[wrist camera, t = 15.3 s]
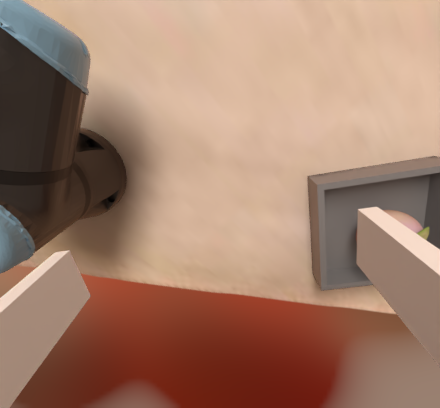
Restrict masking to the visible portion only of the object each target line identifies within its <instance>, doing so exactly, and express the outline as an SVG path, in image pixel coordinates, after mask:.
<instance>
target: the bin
mask: <svg viewBox="0 0 440 408" xmlns="http://www.w3.org/2000/svg"><path fill="white" fill-rule="evenodd" d="M308 192H309V211H310V230H311V249H312V268H313V275H314V277H315V279H316V281H317V283H318V285H319V287H320V289H321V291H322V290H331V289H340V288H349V287H358V286H367V285H373V284H372V282H371V281H370V280H369V279H368V277H367V276H366V275H365V274H364V273H363V271H362V270H361V269H360V268H359V266H358V265H357V264H356V261H357V242H356V231H357V222H358V209H363V208H370V207H378V208H380V209H381V210H395V211H400V212H403V213H406V214H408V215H410V216H412V217H413V218H414V219H416V220H417V221H418V222H419V223H420V225H421V226H422V228H423V229H424V228H426V227H429V235H428V238H427V240H426V241H428V242H429V243H431V244H432V245H434V246H435V247H437V248H438V249H440V157H436V156H432V157H426V158H419V159H413V160H407V161H400V162H394V163H388V164H381V165H375V166H369V167H362V168H356V169H349V170H343V171H337V172H330V173H324V174H318V175H311V176H308Z"/></svg>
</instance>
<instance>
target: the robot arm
mask: <svg viewBox="0 0 440 408" xmlns="http://www.w3.org/2000/svg"><path fill="white" fill-rule="evenodd" d="M89 69H90V54H89V51H88V49H87V47H86V45H85V44H84V42H83V41H82V40H81V39H80V38H79V37H78V36H77V35H75V34H74V33H73V32H71V31H70V30H68V29H67V28H65V27H64V26H62V25H61V24H59V23H58V22H56V21H55V20H53V19H52V18H50V17H48V16H47V15H45V14H44V13H42V12H40V11H39V10H37V9H36V8H34V7H32V6H31V5H29V4H27V3H26V2H24V1H22V0H0V273H3V272H5V271H7V270H9V269H11V268H12V267H14V266H16V265H17V264H19V263H21V262H22V261H25V260H27V259H29V258H30V257H31V256H32V255H33V253H35V252H36V251H37V250H38V249H40V248H41V247H42V246H44V245H45V244H46V243H48V242H49V241H50V240H52V239H53V238H54V237H56V236H57V235H58V234H60V233H61V232H62V231H64V230H65V229H66V228H68V227H69V226H70V225H72V224H73V223H74V222H76V221H77V220H79V219H84V218H89V217H94V216H98V215H100V214H103V213H105V212H106V211H108V210H109V209H111V208H112V207H113V206H114V205H115V204H116V203H117V202H118V201H119V200H120V199H121V197H122V195H123V193H124V191H125V187H126V171H125V167H124V164H123V161H122V159H121V157H120V155H119V154H118V152H117V151H116V149H115V148H114V147H113V146H112V145H111V144H110V143H109V142H108V141H107V140H106V139H104V138H103V137H102V136H100V135H98V134H97V133H95V132H92V131H90V130H87V129H83V128H80V125H81V120H82V115H83V110H84V105H85V100H86V95H88V93H89V91H88V89H87V84H88V76H89ZM356 264H357V265H358V266H359V268H360V269H361V270H362V271H363V273H364V274H365V275H366V276H367V277H368V279H369V280H370V281H371V282H372V284H373V285H374V286H375V287H376V289H377V290H378V291H379V292H380V294H381V295H382V296H383V297H384V299H385V300H386V301H387V302H388V304H389V305H390V306H391V307H392V309H393V310H394V311H395V312H396V314H397V315H398V316H399V317H400V319H401V320H402V321H403V322H404V323H405V325H406V326H407V327H408V328H409V330H410V331H411V332H412V333H413V335H414V336H415V337H416V338H417V340H418V341H419V342H420V343H421V344H422V346H423V347H424V348H425V350H426V351H427V352H428V353H429V355H430V356H431V357H432V358H433V360H434V361H435V362H436V363H437V365H438V366H439V367H440V249H438V248H437V247H435V246H434V245H432V244H431V243H429V242H428V241H426V240H425V239H424V238H422V237H421V236H419V235H418V234H416V233H415V232H413V231H412V230H410V229H409V228H407V227H406V226H405V225H403V224H402V223H400V222H399V221H397V220H396V219H394V218H393V217H391V216H390V215H388V214H387V213H386V212H384V211H383V210H381V209H380V208H378V207H370V208H363V209H358V222H357V261H356ZM89 298H90V293H89V291H88V289H87V287H86V285H85V283H84V280H83V278H82V276H81V274H80V272H79V269H78V267H77V265H76V263H75V261H74V259H73V256H72V254H71V252H70V250H68V251H61V252H55V253H53V254H52V255H51V256H50V257H49V258H48V259H46V260H45V261H44V262H43V263H42V264H40V265H39V266H38V267H37V268H36V269H34V270H33V271H32V272H31V273H30V274H28V275H27V276H26V277H25V278H24V279H23V280H21V281H20V282H19V283H18V284H17V285H15V286H14V287H13V288H12V289H11V290H9V291H8V292H7V293H6V294H5V295H3V296H2V297H1V298H0V408H9V407H10V406H11V405H12V403H13V402H14V400H15V399H16V398H17V396H18V395H19V394H20V392H21V391H22V390H23V388H24V387H25V385H26V384H27V383H28V381H29V380H30V378H31V377H32V376H33V374H34V373H35V372H36V370H37V369H38V368H39V366H40V365H41V363H42V362H43V361H44V359H45V358H46V357H47V355H48V354H49V352H50V351H51V350H52V348H53V347H54V346H55V344H56V343H57V342H58V340H59V339H60V337H61V336H62V335H63V333H64V332H65V331H66V329H67V328H68V327H69V325H70V324H71V322H72V321H73V320H74V318H75V317H76V316H77V314H78V313H79V311H80V310H81V309H82V307H83V306H84V305H85V303H86V302H87V301H88V299H89Z"/></svg>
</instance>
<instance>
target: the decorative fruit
mask: <svg viewBox="0 0 440 408" xmlns="http://www.w3.org/2000/svg"><path fill="white" fill-rule="evenodd" d="M383 211H384V212H386V213H387V214H388V215H390V216H391V217H393V218H394V219H396V220H397V221H399V222H400V223H402V224H403V225H405V226H406V227H407V228H409V229H410V230H412V231H413V232H415V233H416V234H418V235H419V236H421V237H422V238H424V239H425V240H427V238H428V235H429V227H426V228H424V229H423V228H422V226H421V225H420V223H419V222H418V221H417V220H416V219H414V218H413V217H412V216H410V215H408V214H406V213H403V212H400V211H395V210H383ZM356 242H357V231H356Z"/></svg>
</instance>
